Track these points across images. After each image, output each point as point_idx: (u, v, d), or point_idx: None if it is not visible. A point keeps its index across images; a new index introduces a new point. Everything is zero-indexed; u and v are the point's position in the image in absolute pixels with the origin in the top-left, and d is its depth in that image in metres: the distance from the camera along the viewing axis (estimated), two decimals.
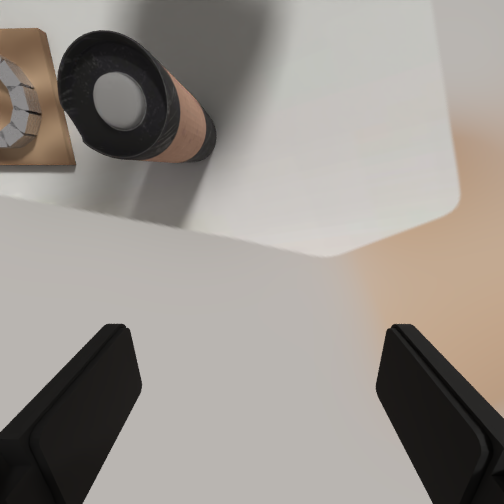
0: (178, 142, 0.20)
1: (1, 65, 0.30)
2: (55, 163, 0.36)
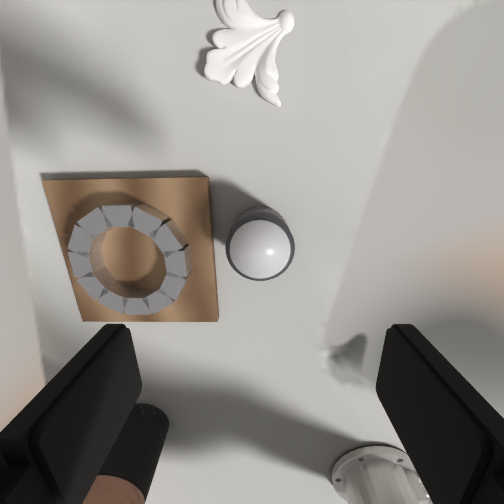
0: None
1: (168, 298, 0.25)
2: (79, 305, 0.28)
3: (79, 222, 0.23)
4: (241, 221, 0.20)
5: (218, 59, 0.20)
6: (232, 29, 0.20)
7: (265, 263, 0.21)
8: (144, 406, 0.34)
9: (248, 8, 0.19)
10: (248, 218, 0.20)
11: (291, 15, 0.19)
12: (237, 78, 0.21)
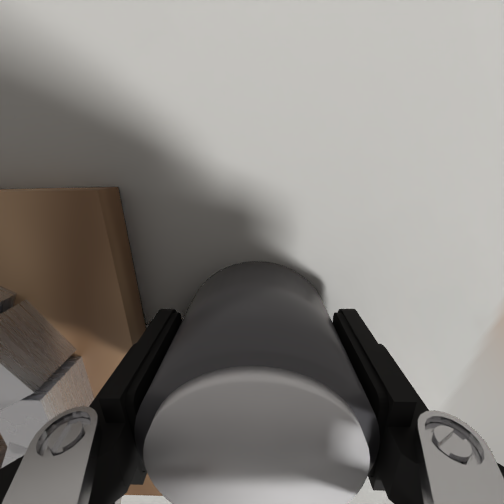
0: None
1: None
2: None
3: None
4: (179, 371, 0.05)
5: None
6: None
7: (276, 498, 0.06)
8: None
9: None
10: (207, 362, 0.05)
11: None
12: None
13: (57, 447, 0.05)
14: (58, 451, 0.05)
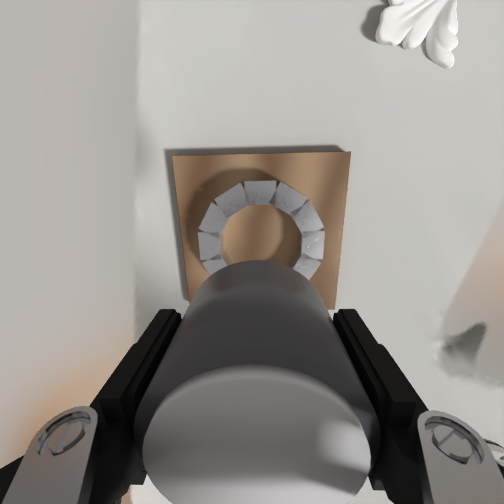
0: None
1: None
2: (189, 292, 0.27)
3: (217, 199, 0.21)
4: (179, 369, 0.05)
5: (394, 17, 0.19)
6: None
7: (276, 497, 0.06)
8: None
9: None
10: (206, 360, 0.05)
11: None
12: (412, 37, 0.19)
13: (57, 447, 0.05)
14: (58, 451, 0.05)
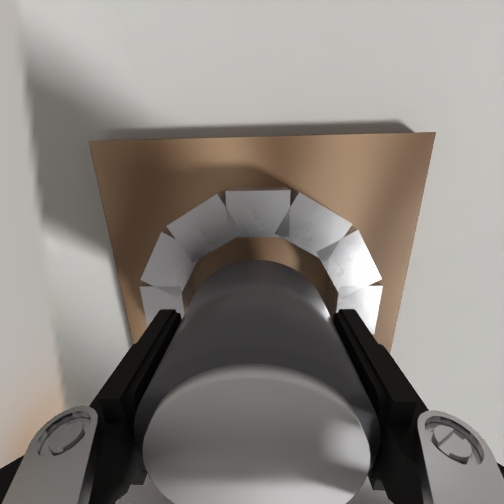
0: None
1: None
2: None
3: (172, 227, 0.11)
4: (179, 368, 0.05)
5: None
6: None
7: (276, 496, 0.06)
8: None
9: None
10: (206, 359, 0.05)
11: None
12: None
13: (57, 447, 0.05)
14: (58, 451, 0.05)
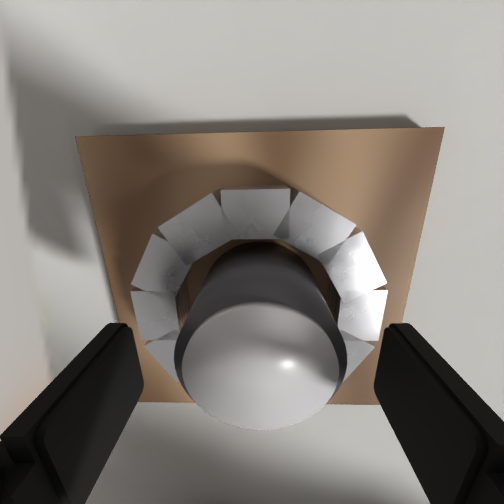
0: None
1: None
2: None
3: (163, 228, 0.10)
4: (208, 305, 0.08)
5: None
6: None
7: (274, 401, 0.08)
8: None
9: None
10: (227, 298, 0.08)
11: None
12: None
13: None
14: None
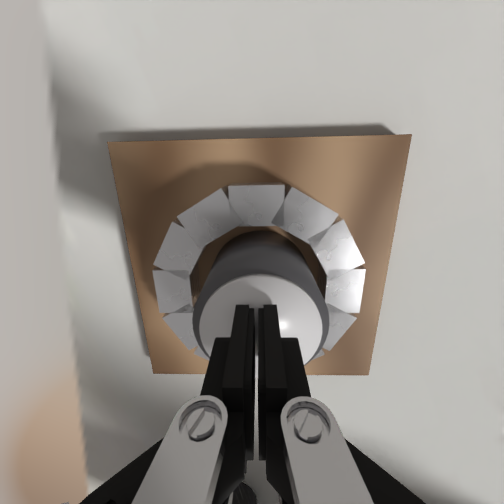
0: None
1: None
2: (151, 350, 0.18)
3: (181, 217, 0.12)
4: (222, 276, 0.10)
5: None
6: None
7: None
8: None
9: None
10: (237, 270, 0.10)
11: None
12: None
13: (193, 431, 0.05)
14: (193, 437, 0.05)
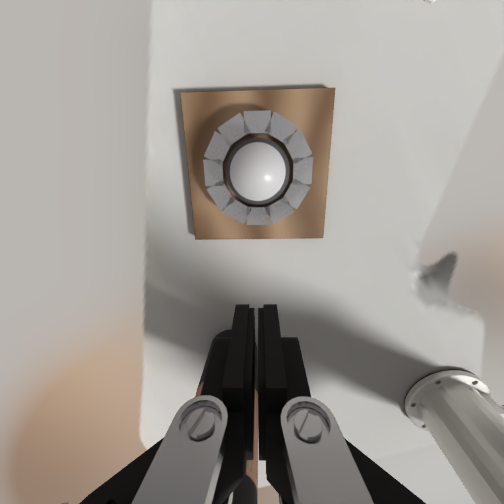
0: None
1: (289, 207, 0.27)
2: (195, 222, 0.30)
3: (219, 128, 0.25)
4: (242, 143, 0.22)
5: None
6: None
7: (261, 185, 0.23)
8: None
9: None
10: (249, 140, 0.22)
11: None
12: None
13: (193, 431, 0.05)
14: (193, 437, 0.05)
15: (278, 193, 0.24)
